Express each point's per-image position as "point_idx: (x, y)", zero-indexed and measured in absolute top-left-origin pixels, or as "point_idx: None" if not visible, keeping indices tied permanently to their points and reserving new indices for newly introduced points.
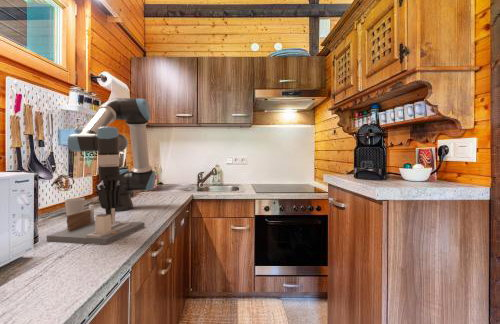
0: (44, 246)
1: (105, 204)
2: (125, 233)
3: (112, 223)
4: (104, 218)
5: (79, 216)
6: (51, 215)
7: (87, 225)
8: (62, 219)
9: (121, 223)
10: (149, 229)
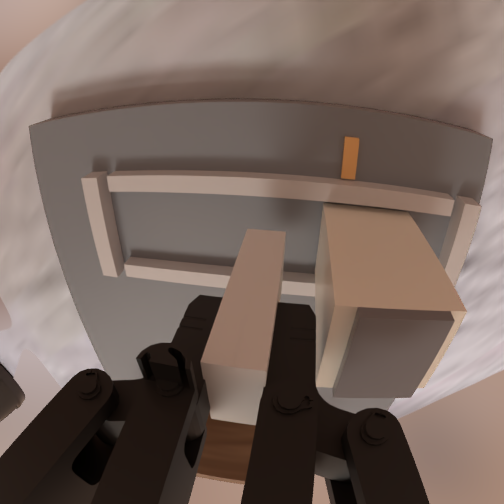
0: (437, 389)
1: (414, 475)
2: (263, 100)
3: (284, 242)
4: (442, 295)
5: (224, 459)
6: None
7: None
8: None
9: (114, 251)
10: (88, 36)
